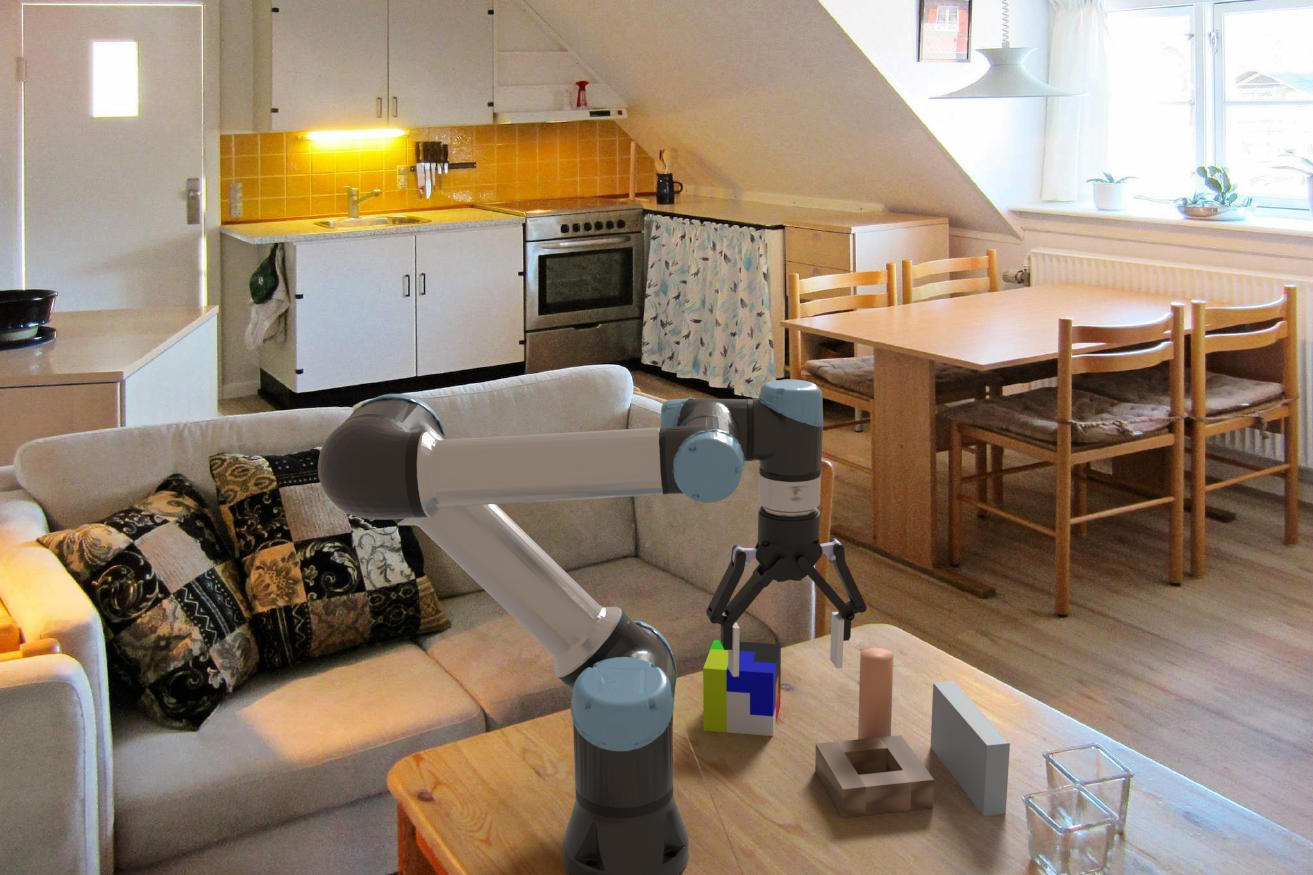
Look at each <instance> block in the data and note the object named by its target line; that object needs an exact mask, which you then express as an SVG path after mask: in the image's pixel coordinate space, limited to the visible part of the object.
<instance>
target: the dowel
mask: <svg viewBox="0 0 1313 875" xmlns="http://www.w3.org/2000/svg"><path fill="white" fill-rule="evenodd" d="M859 657H860V658H859V659H860V660H859V687H858V688H859V690H858V691H859V692H858V693H859V696H858V726H857V727H858V731H857V739H867V738H877V737H888V736H892V716H893V715H892V714H893V713H892V712H893V685H894V683H893V681H894V680H893V678H894V653H893V652H892V651H891V650H888V649H886V648H879V647H870V648H869V647H868V648H864V649H863V650H861V651H860V655H859Z"/></svg>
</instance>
